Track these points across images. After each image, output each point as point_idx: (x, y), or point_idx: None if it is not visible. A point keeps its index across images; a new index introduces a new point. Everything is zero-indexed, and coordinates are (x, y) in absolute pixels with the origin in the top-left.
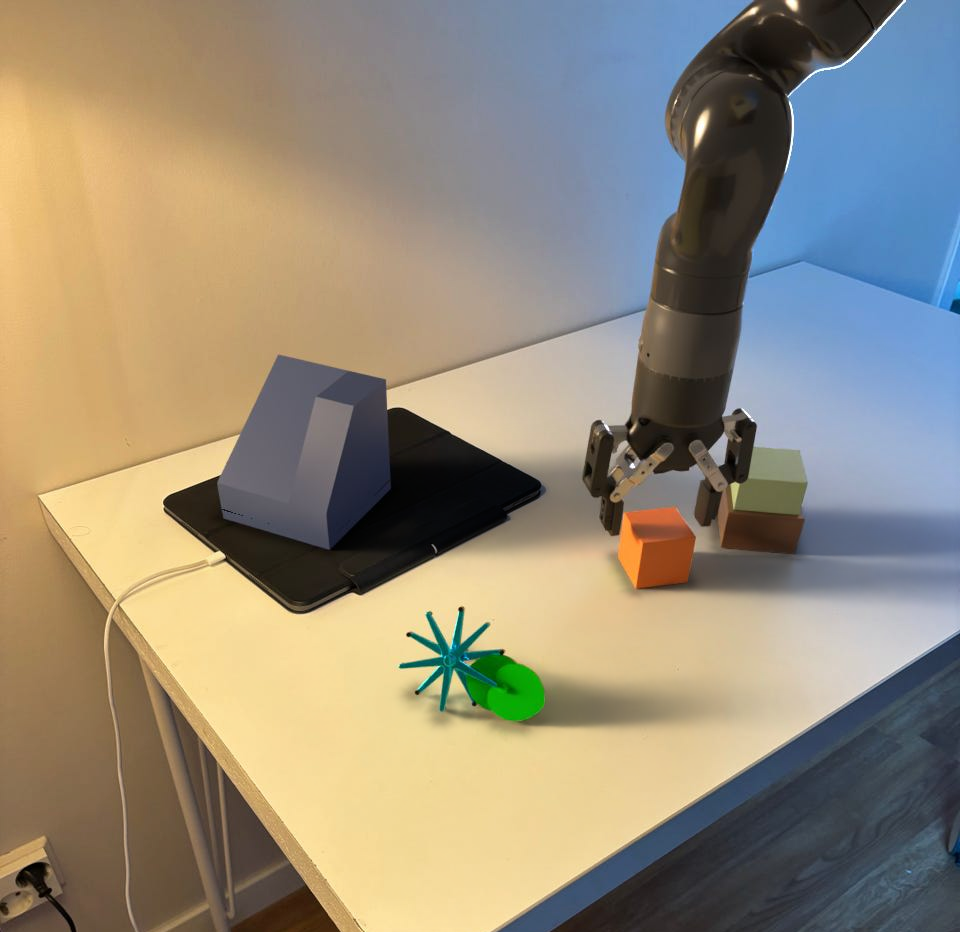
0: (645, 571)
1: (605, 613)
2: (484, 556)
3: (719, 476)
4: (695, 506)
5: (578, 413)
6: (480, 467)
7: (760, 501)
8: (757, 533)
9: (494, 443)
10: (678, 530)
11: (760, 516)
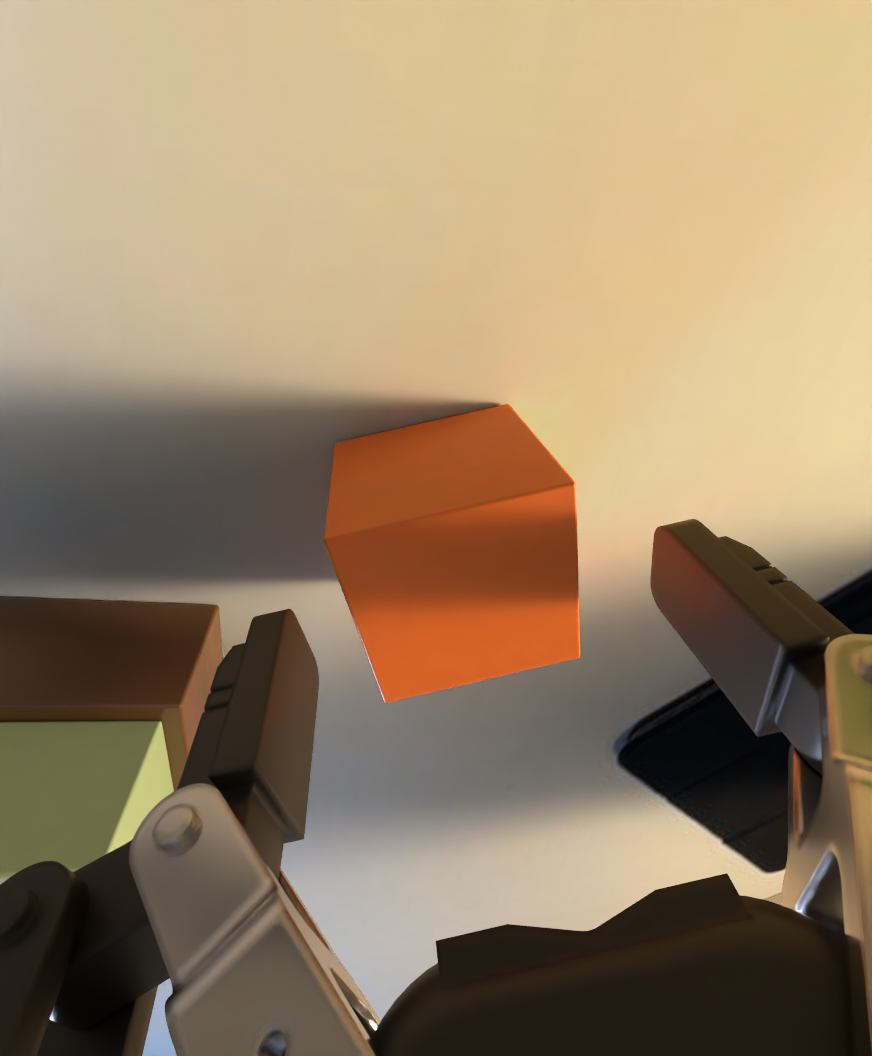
0: (501, 432)
1: (642, 264)
2: (850, 528)
3: (180, 911)
4: (316, 703)
5: (486, 910)
6: (712, 780)
7: (38, 763)
8: (83, 646)
9: (659, 833)
10: (398, 576)
11: (52, 702)
